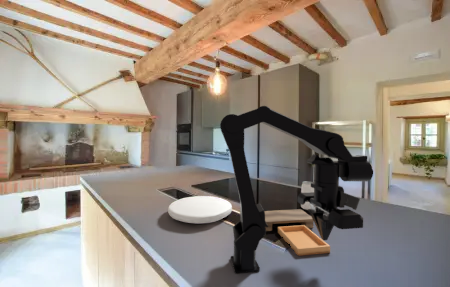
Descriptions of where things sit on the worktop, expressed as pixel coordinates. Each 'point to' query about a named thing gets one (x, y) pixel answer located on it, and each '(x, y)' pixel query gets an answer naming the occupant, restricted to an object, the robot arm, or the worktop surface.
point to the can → (306, 189)
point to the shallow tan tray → (303, 240)
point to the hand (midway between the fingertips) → (324, 239)
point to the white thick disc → (199, 209)
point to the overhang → (287, 218)
